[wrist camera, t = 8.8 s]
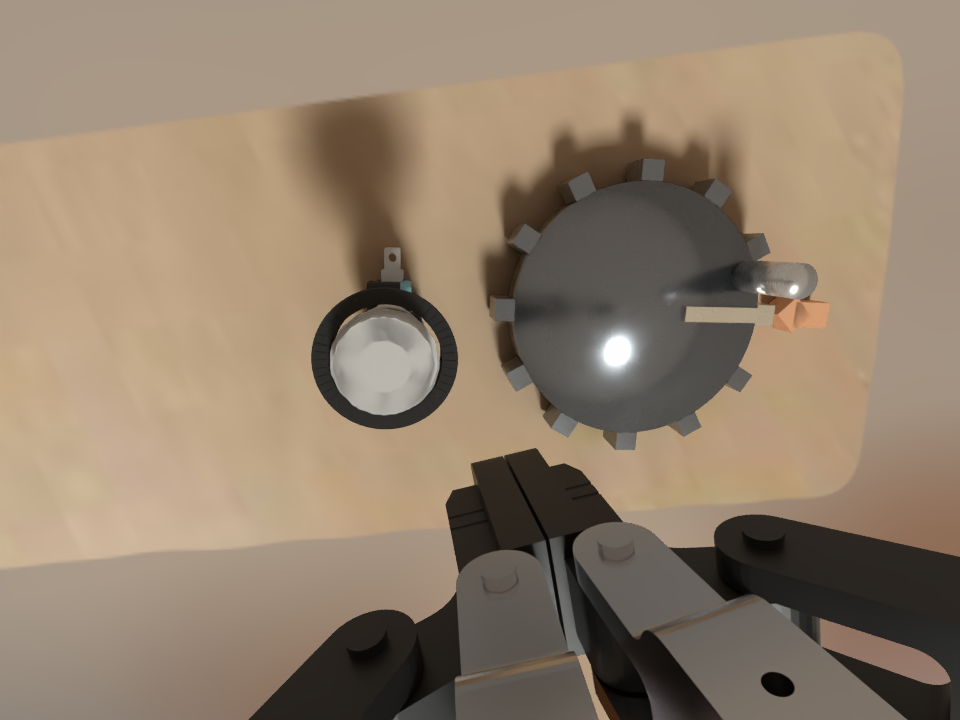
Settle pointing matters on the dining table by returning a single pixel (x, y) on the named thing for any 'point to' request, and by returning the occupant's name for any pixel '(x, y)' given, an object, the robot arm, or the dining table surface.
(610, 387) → the sprocket wheel
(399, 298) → the push button
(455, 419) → the dining table surface
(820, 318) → the pointer block
